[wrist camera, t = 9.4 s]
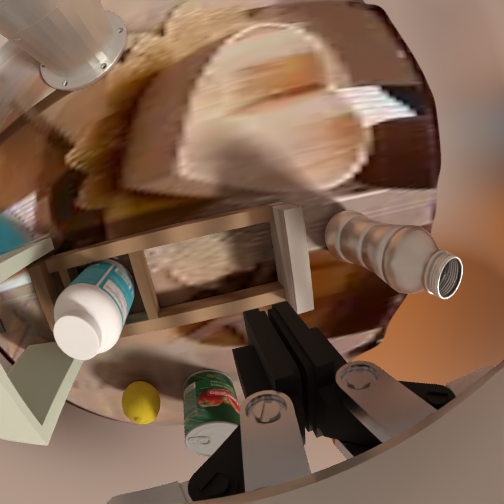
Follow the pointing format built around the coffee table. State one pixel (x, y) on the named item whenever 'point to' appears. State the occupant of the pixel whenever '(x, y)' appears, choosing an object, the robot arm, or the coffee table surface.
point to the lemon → (141, 402)
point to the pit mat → (1, 327)
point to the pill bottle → (93, 309)
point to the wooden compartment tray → (155, 318)
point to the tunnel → (33, 372)
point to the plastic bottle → (394, 254)
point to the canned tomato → (209, 411)
